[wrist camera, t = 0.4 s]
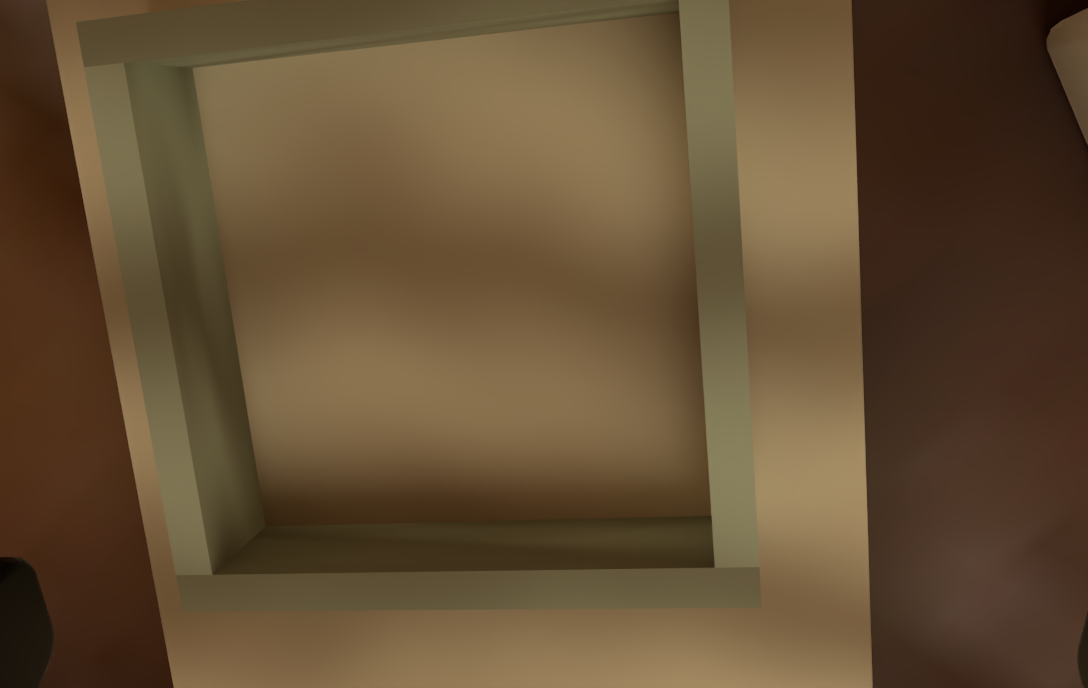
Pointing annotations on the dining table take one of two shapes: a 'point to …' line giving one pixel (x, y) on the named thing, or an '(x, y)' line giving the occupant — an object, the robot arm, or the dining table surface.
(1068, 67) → the medicine bottle
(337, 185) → the holder board
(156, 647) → the dining table surface
